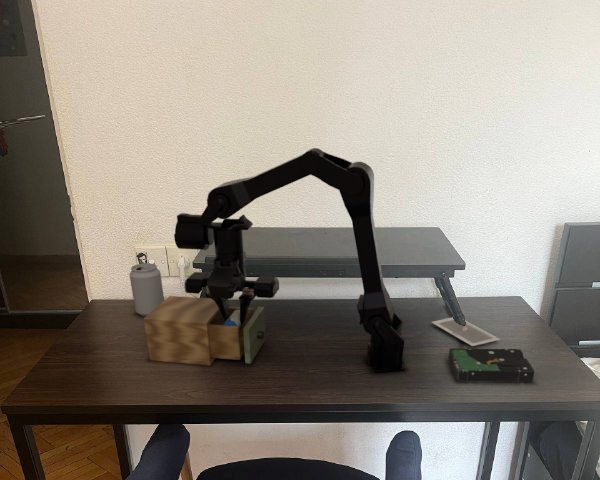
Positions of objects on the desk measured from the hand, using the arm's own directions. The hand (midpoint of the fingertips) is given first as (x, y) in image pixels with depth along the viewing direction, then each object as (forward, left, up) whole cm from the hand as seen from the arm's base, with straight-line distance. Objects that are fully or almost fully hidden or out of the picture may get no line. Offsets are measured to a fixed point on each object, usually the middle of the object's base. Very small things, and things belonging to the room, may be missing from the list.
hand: (234, 323), depth 123 cm
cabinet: (+10, -4, -7) cm, 13 cm away
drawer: (+1, 0, -6) cm, 6 cm away
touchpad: (-52, -1, -7) cm, 53 cm away
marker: (0, 0, -1) cm, 1 cm away
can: (+21, -28, -7) cm, 36 cm away
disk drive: (-50, +17, -7) cm, 54 cm away
